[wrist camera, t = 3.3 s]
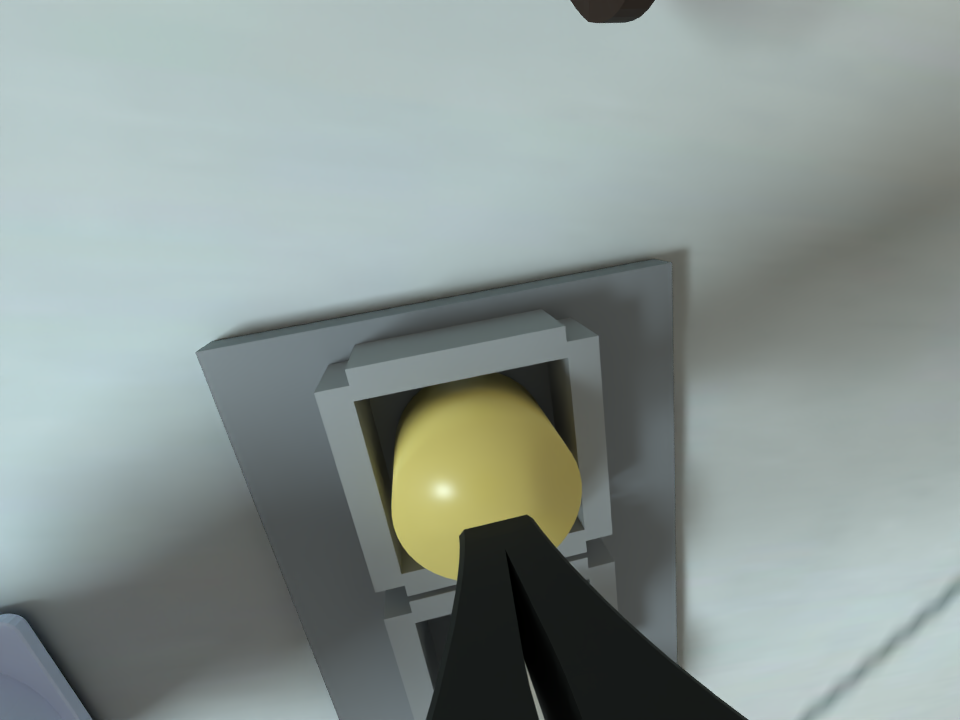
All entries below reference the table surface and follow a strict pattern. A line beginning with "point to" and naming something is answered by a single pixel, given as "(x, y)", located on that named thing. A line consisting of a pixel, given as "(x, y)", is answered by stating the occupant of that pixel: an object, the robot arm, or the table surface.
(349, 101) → the table surface
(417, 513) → the button mustard
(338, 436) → the panel
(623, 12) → the coffee mug
